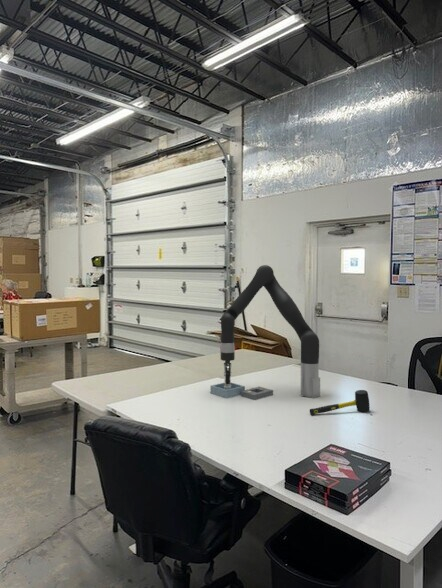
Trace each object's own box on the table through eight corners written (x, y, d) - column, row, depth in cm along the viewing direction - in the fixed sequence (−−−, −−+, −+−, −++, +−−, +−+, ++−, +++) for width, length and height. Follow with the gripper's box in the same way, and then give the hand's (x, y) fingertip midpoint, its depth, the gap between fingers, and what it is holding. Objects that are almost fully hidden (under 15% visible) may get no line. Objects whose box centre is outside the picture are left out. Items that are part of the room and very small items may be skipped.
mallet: (313, 417, 181) (313, 396, 181) (307, 413, 187) (307, 392, 186) (372, 412, 187) (372, 392, 187) (364, 408, 193) (365, 388, 193)
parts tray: (244, 393, 219) (244, 386, 219) (226, 398, 210) (226, 390, 210) (228, 388, 229) (228, 381, 228) (210, 393, 220) (210, 385, 220)
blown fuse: (232, 388, 219) (232, 372, 219) (227, 390, 217) (227, 373, 216) (227, 387, 222) (227, 370, 222) (222, 388, 219) (222, 372, 219)
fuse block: (273, 394, 216) (273, 389, 216) (254, 400, 207) (254, 394, 207) (259, 391, 224) (259, 385, 224) (240, 395, 215) (240, 390, 215)
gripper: (235, 353, 212) (235, 386, 212) (233, 348, 226) (234, 379, 226) (220, 353, 211) (220, 386, 212) (220, 348, 226) (220, 379, 226)
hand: (227, 382), depth 219 cm, fingers closed on blown fuse, 3 cm apart
